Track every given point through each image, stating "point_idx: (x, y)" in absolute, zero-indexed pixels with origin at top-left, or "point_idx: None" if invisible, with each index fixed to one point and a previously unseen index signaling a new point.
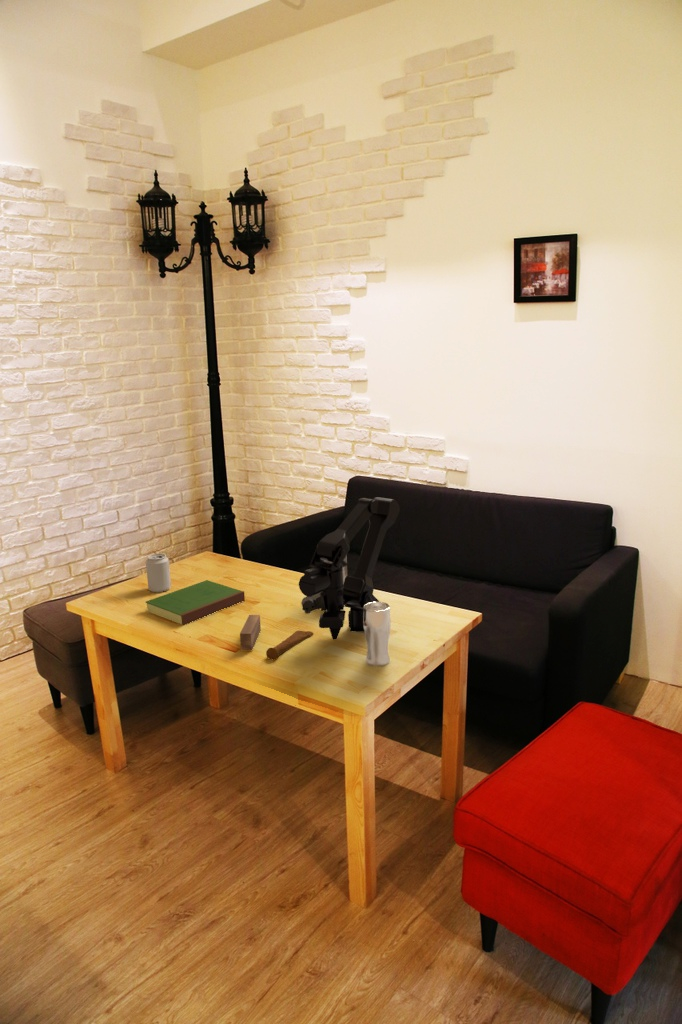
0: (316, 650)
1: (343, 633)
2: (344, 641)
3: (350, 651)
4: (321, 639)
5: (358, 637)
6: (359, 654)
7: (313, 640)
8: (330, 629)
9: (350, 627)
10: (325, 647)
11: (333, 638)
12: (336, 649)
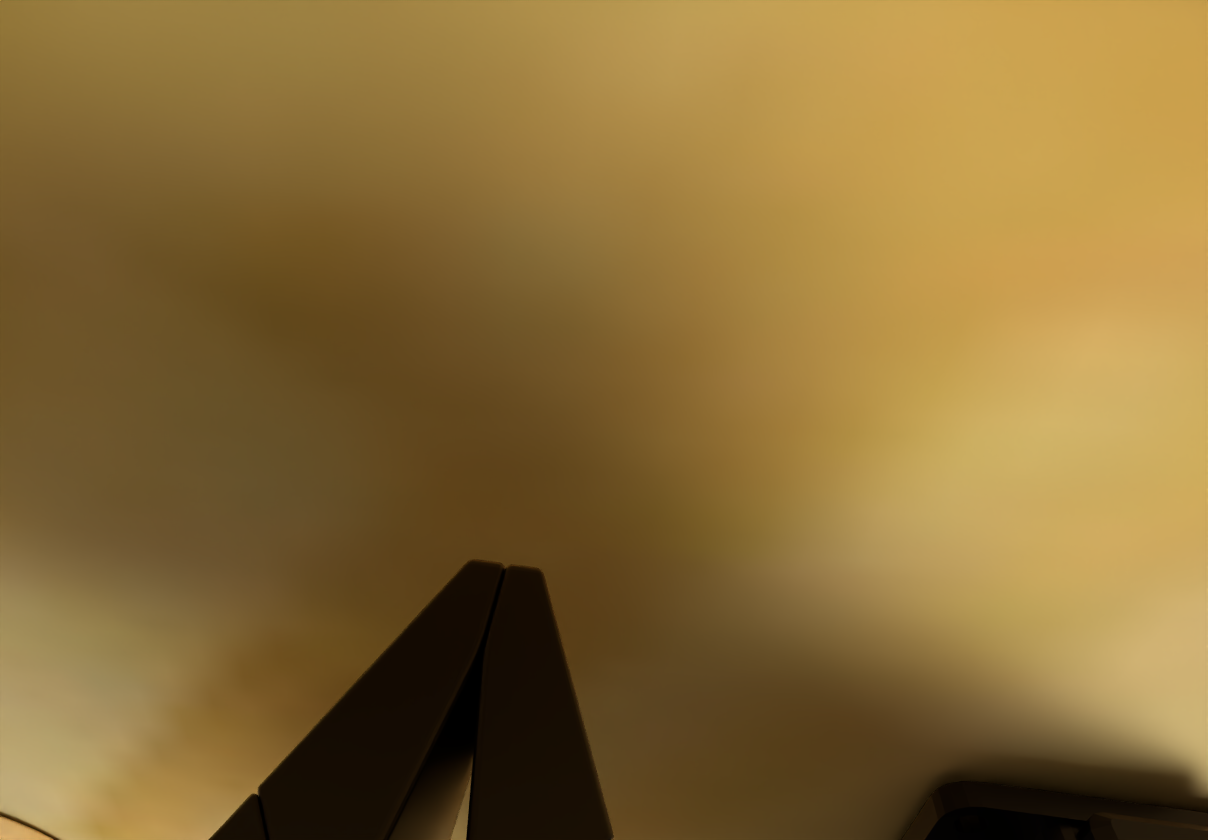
0: (38, 93)
1: (949, 685)
2: (570, 662)
3: (168, 689)
4: (767, 263)
5: (700, 819)
6: (94, 761)
7: (751, 10)
8: (228, 833)
9: (1078, 829)
10: (267, 332)
11: (452, 593)
12: (203, 523)
